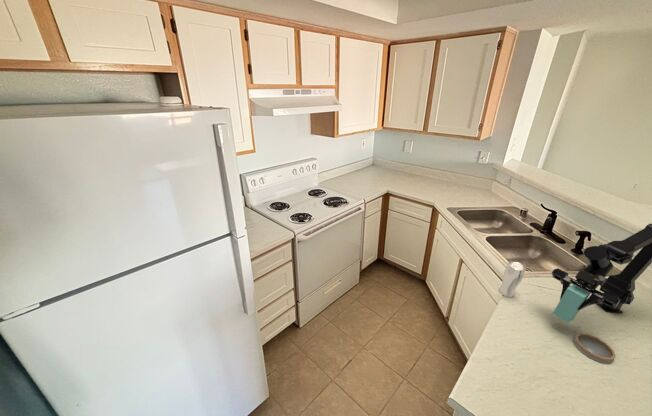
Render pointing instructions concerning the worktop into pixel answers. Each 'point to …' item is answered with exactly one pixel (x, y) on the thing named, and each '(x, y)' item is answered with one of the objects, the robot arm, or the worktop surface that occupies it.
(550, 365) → the worktop surface
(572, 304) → the teal rectangular block
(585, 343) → the groove tray
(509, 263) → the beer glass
